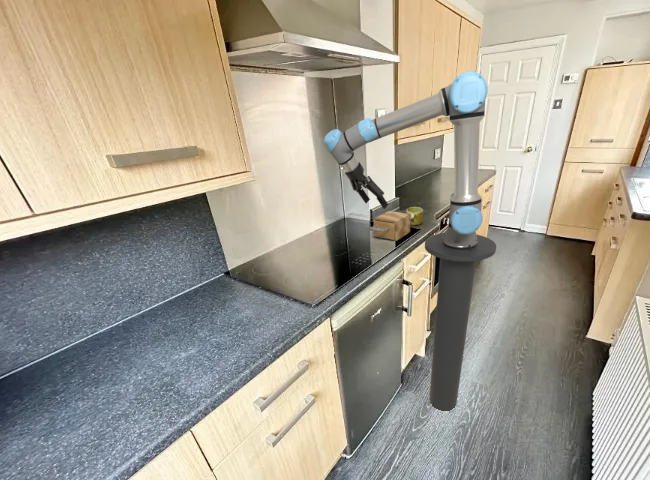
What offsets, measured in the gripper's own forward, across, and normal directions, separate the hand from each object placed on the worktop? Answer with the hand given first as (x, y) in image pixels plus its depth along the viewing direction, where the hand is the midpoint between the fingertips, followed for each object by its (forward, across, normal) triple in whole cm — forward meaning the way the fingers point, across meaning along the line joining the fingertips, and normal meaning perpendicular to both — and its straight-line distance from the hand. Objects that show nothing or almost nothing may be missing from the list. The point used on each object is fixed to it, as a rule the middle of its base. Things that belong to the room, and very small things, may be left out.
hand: (376, 203), depth 144 cm
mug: (+34, -8, +15) cm, 38 cm away
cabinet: (+22, -4, 0) cm, 23 cm away
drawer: (+19, -2, -4) cm, 19 cm away
